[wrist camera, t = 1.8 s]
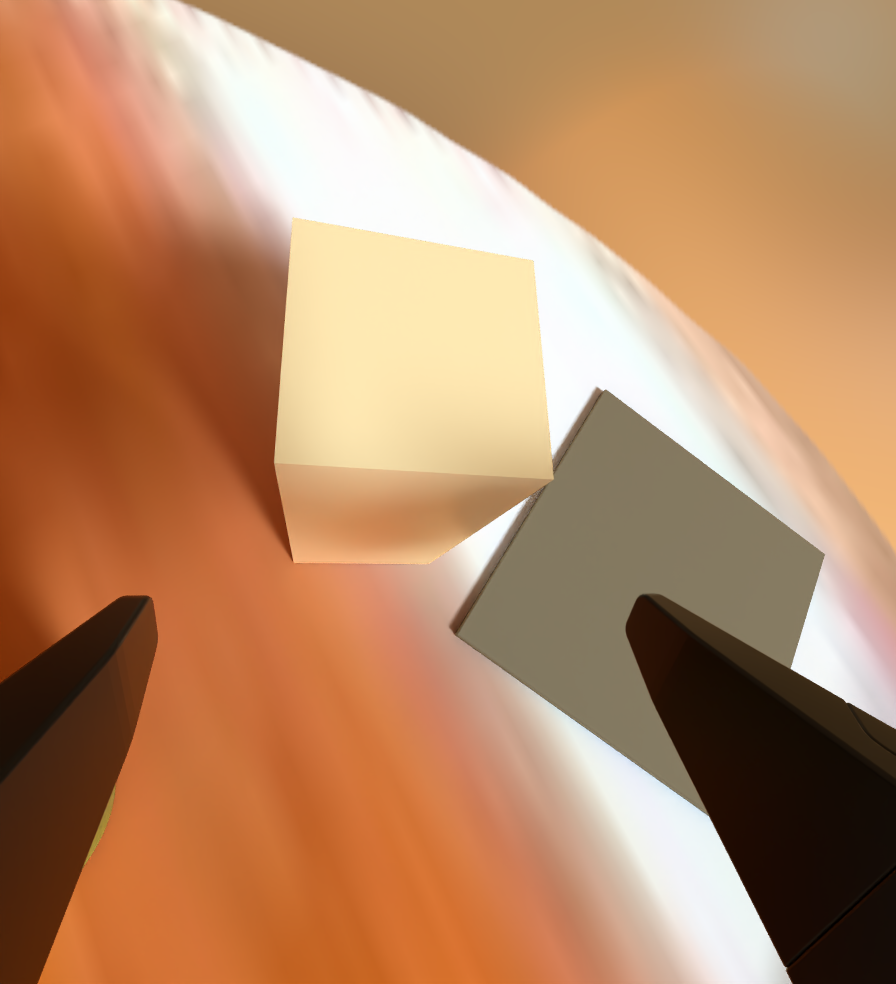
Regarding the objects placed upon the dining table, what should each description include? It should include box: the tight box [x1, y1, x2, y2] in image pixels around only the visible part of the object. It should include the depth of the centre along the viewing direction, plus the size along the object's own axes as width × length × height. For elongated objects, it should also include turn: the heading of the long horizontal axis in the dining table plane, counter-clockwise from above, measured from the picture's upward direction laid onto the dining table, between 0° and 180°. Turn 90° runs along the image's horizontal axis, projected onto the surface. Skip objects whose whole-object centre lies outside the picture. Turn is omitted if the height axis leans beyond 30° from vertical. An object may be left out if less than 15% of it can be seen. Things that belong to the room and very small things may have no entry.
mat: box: [455, 390, 825, 816], centre depth 24 cm, size 15×15×1 cm
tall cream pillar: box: [274, 218, 554, 564], centre depth 16 cm, size 6×6×12 cm
